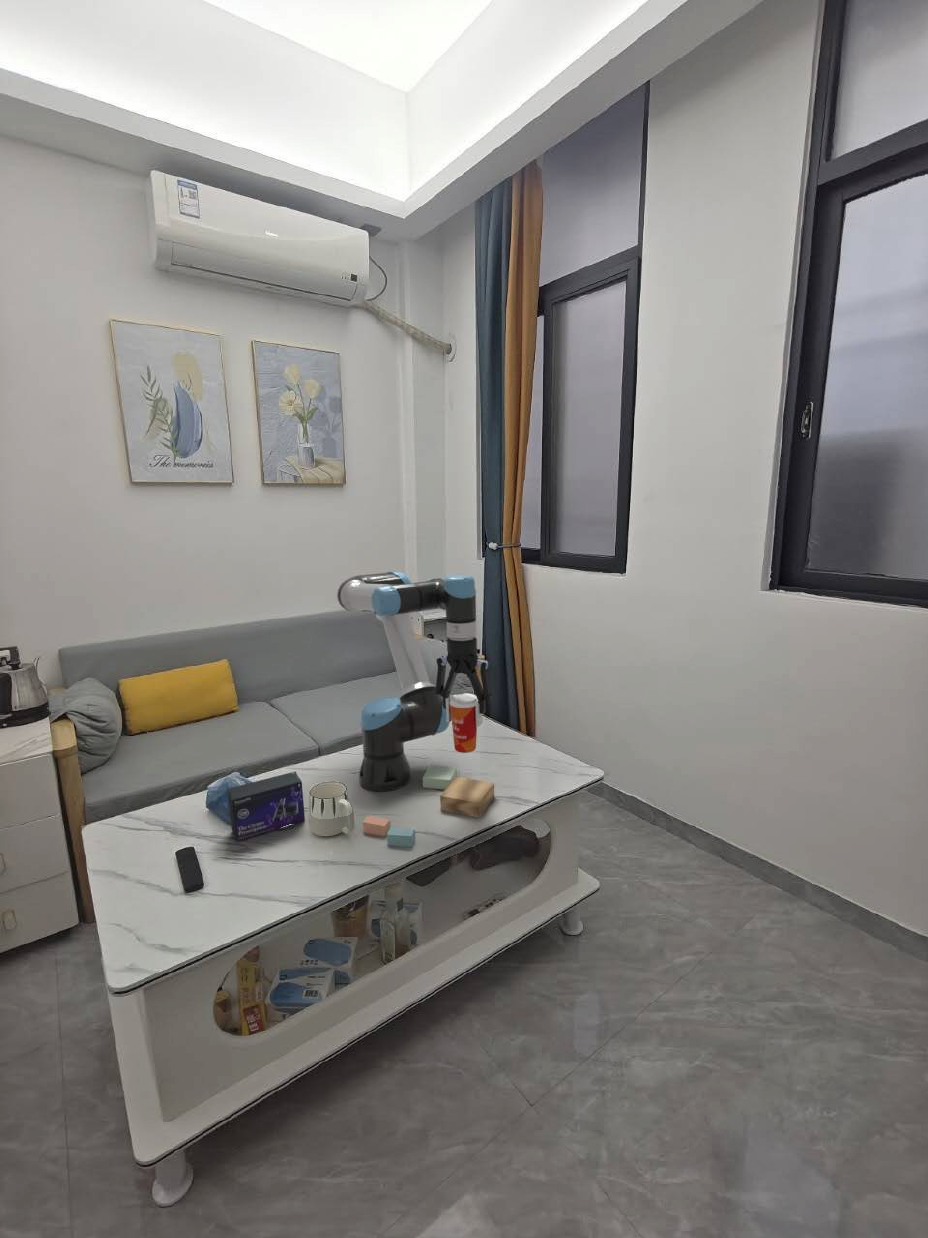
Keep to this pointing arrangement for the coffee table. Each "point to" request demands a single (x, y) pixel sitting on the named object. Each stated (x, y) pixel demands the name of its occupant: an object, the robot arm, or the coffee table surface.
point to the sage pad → (439, 776)
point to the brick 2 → (401, 837)
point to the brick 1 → (376, 825)
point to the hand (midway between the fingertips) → (464, 722)
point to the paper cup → (464, 722)
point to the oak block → (467, 796)
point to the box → (266, 805)
